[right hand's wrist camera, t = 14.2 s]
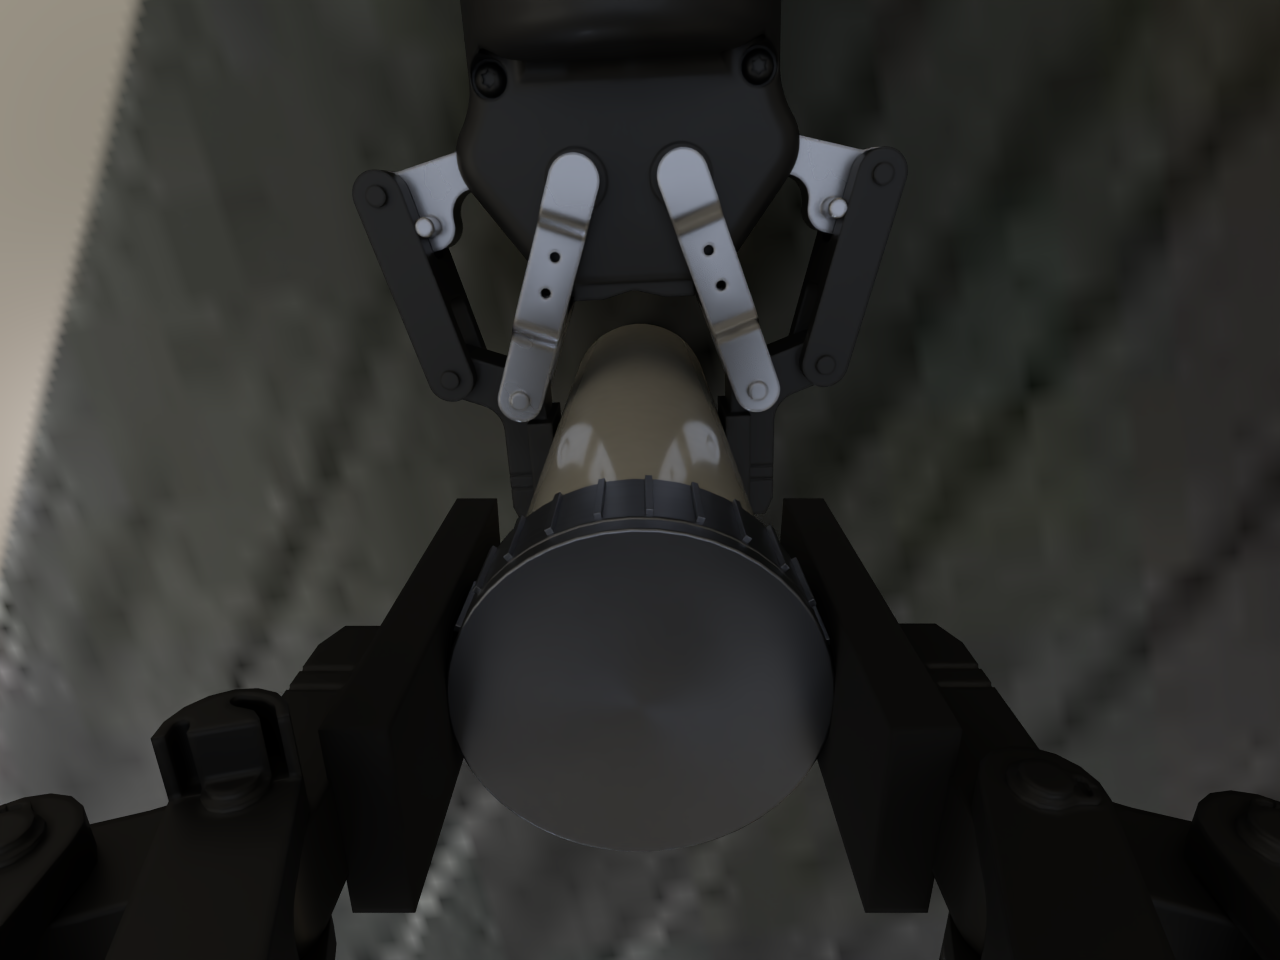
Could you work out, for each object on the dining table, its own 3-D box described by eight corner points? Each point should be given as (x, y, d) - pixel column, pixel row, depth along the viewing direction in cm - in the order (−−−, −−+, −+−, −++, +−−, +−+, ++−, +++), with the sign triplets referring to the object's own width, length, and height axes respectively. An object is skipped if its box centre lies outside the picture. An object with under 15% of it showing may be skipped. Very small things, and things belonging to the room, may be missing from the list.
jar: (551, 403, 28) (417, 719, 11) (623, 296, 26) (594, 473, 10) (655, 472, 29) (676, 857, 12) (730, 372, 27) (873, 652, 11)
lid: (406, 668, 12) (367, 746, 11) (592, 400, 11) (582, 440, 9) (678, 816, 14) (683, 908, 12) (884, 594, 12) (925, 663, 10)
